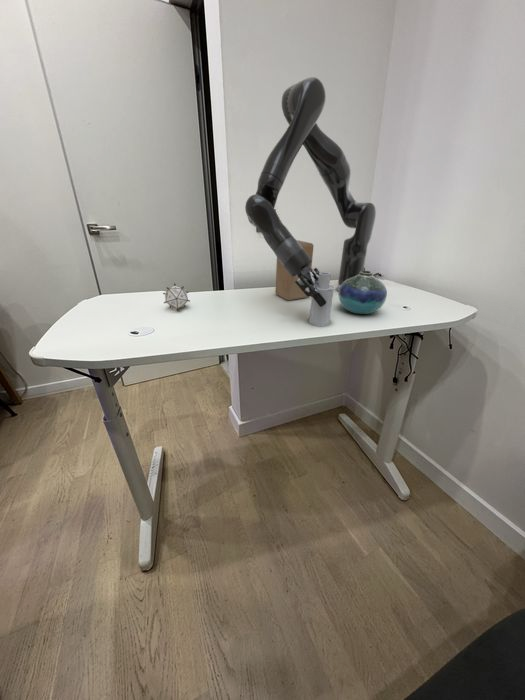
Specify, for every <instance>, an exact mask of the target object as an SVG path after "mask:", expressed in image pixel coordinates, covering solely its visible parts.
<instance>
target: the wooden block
mask: <svg viewBox="0 0 525 700" xmlns="http://www.w3.org/2000/svg"><path fill="white" fill-rule="evenodd" d="M296 240H297V239H296ZM297 241H298V242H299V243H300V245H301V246H302V247H303V249H304V250H305V251H306V253H307V254H308V255H309V257H310V258H311V259H312V260H313V256H314V247H315V245H314V244H313V243H312V242H308V241H302V240H297ZM309 266H310V267H311V268H312V269H313V267H312V266H313V261H312V262H311V263H310V264H309ZM275 267H276V268H275V269H276V270H275V290H274V291H275V294H276V295H277V296H279V297H281V298H283V299H285V300H286V301H295V300H300V299H307V298H308V297H307V296H306V294H305V293H304V292H303V291H302V290H301V289H300V287H299V286H298V285H297V284H296V283H295V281H296V280H297V279H298V276H297V275H296V276H294V277H292V276H291V275H290V274H289V273H288V271H287V270H286V269H285V267H284V266H283V265H282V263H281V262H280V261H279V260H278V258H277V257H276V266H275ZM307 292H308V291H307Z"/></svg>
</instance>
